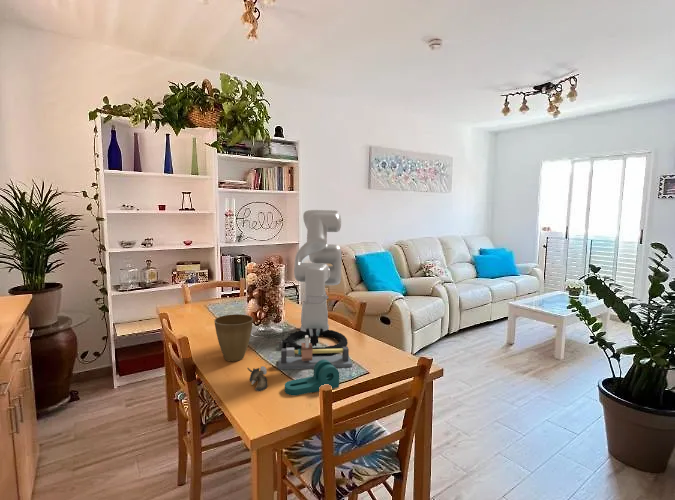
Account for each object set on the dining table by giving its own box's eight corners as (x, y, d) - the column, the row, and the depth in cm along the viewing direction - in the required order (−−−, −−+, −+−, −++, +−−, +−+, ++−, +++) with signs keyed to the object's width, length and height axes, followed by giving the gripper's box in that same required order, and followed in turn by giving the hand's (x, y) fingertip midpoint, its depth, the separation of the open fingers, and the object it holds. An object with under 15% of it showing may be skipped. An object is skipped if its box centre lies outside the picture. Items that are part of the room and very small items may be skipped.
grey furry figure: (241, 378, 131) (244, 385, 123) (251, 359, 133) (255, 365, 124) (260, 387, 133) (264, 395, 125) (270, 369, 135) (275, 375, 126)
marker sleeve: (301, 355, 149) (301, 335, 148) (311, 355, 149) (311, 335, 148) (301, 360, 144) (302, 340, 143) (312, 360, 144) (312, 339, 143)
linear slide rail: (278, 360, 149) (278, 345, 148) (348, 358, 153) (348, 343, 152) (278, 369, 141) (278, 353, 140) (351, 366, 145) (352, 350, 144)
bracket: (331, 379, 135) (331, 358, 134) (338, 387, 129) (339, 365, 128) (282, 388, 127) (282, 366, 126) (288, 397, 121) (288, 374, 120)
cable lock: (357, 345, 158) (286, 352, 149) (356, 354, 159) (286, 362, 149) (335, 325, 184) (274, 330, 174) (335, 332, 185) (274, 338, 175)
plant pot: (258, 361, 148) (258, 321, 146) (219, 368, 141) (218, 326, 139) (247, 348, 161) (247, 311, 159) (211, 354, 154) (210, 316, 152)
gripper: (333, 296, 149) (332, 341, 151) (294, 296, 147) (294, 342, 149) (335, 301, 141) (334, 348, 143) (295, 301, 139) (295, 349, 141)
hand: (314, 344), depth 146 cm, fingers closed
